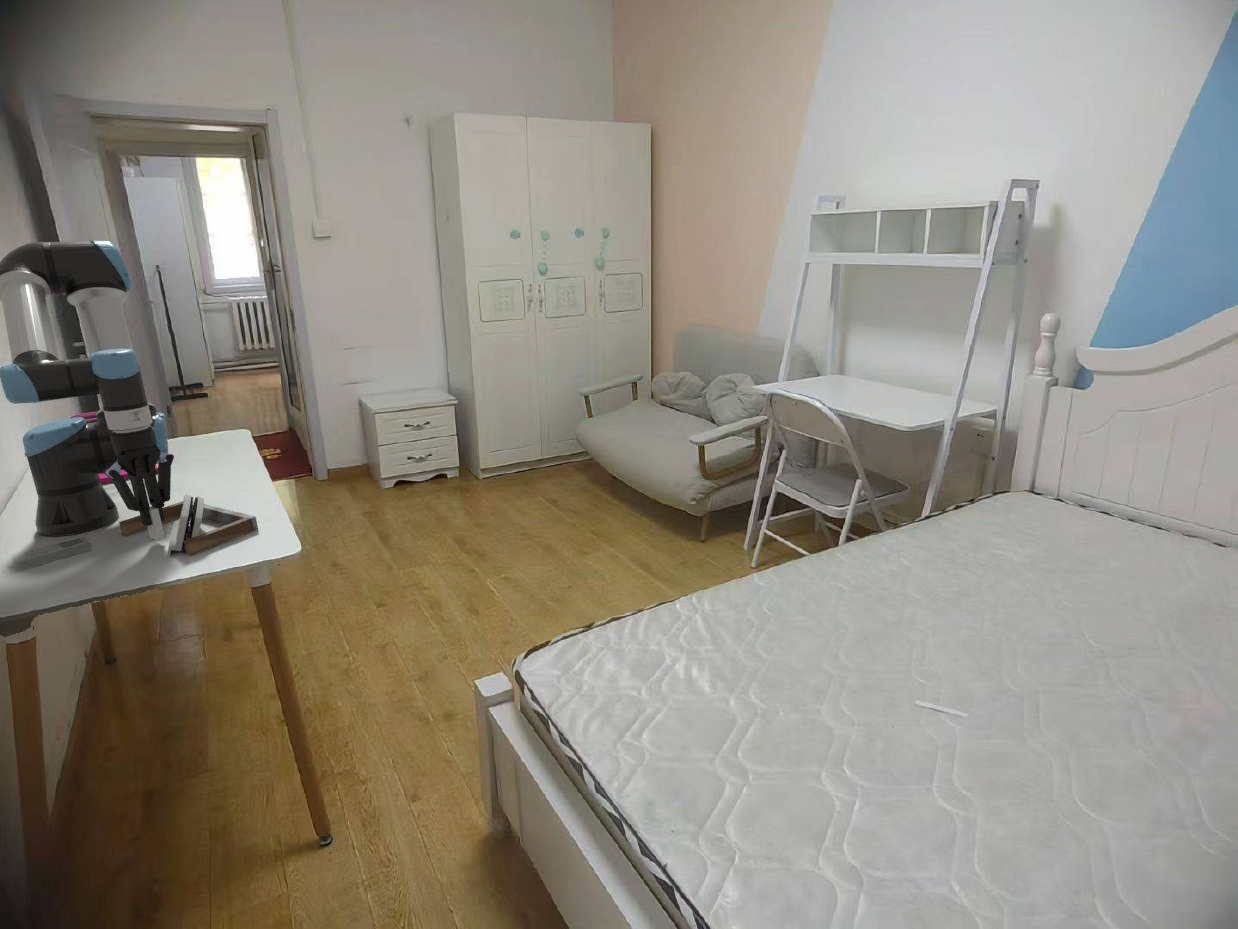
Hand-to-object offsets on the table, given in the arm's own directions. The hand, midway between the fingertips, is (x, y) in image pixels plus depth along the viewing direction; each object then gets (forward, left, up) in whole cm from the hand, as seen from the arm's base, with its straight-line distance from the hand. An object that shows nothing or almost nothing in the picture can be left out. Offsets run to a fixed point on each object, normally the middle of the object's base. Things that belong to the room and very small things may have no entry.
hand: (157, 537), depth 153 cm
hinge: (+4, +4, -2) cm, 6 cm away
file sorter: (-65, +25, -2) cm, 70 cm away
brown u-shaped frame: (0, +7, -1) cm, 7 cm away
